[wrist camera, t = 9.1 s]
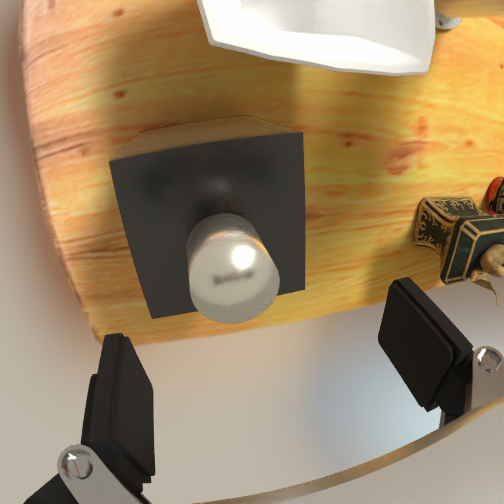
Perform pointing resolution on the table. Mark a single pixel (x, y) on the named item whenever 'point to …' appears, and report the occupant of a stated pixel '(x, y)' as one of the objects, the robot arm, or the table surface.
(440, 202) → the decorative box
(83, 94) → the table surface
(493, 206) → the canned food
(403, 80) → the table surface
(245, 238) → the plunger
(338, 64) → the bowl
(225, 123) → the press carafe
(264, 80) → the table surface
